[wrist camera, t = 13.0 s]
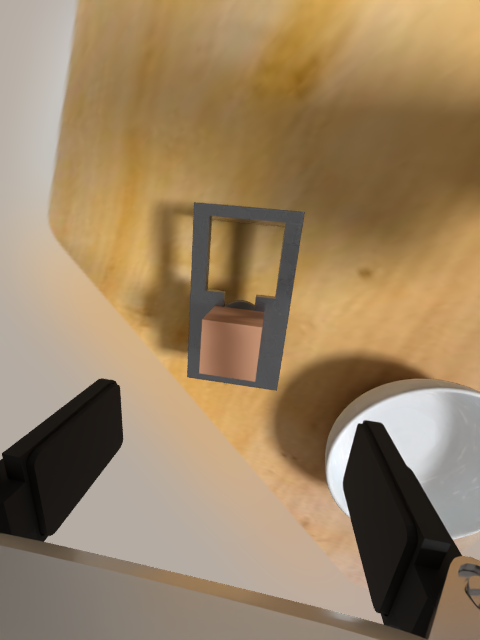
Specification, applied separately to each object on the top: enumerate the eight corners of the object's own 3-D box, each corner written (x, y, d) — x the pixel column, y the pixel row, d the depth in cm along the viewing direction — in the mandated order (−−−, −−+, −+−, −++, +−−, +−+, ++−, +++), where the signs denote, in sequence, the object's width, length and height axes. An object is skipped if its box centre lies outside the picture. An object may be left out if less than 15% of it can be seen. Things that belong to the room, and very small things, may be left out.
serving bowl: (285, 434, 37) (287, 476, 30) (400, 325, 31) (434, 347, 24) (395, 515, 39) (420, 571, 32) (525, 426, 32) (589, 473, 26)
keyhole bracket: (209, 210, 30) (194, 202, 24) (298, 218, 29) (304, 212, 23) (201, 355, 35) (187, 377, 29) (276, 365, 34) (276, 390, 28)
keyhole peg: (266, 303, 29) (263, 326, 21) (260, 346, 31) (256, 382, 23) (220, 297, 30) (201, 318, 22) (217, 340, 31) (198, 374, 23)
